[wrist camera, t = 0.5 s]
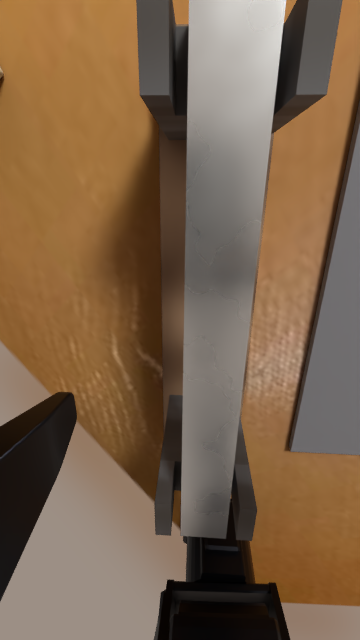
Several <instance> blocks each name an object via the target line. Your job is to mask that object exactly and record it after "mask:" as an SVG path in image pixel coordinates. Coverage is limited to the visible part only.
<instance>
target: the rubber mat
mask: <svg viewBox="0 0 360 640" xmlns="http://www.w3.org/2000/svg"><path fill="white" fill-rule="evenodd" d="M289 448H290V451H291V452H311V453H330V454H350V455H360V101H359V105H358V110H357V115H356V120H355V125H354V130H353V135H352V140H351V145H350V149H349V154H348V159H347V164H346V169H345V174H344V179H343V184H342V188H341V193H340V198H339V203H338V208H337V213H336V218H335V223H334V228H333V232H332V237H331V242H330V247H329V252H328V257H327V262H326V267H325V272H324V276H323V281H322V286H321V291H320V296H319V301H318V306H317V311H316V316H315V320H314V325H313V330H312V335H311V340H310V345H309V350H308V355H307V360H306V364H305V369H304V374H303V379H302V384H301V389H300V394H299V399H298V403H297V408H296V413H295V418H294V423H293V428H292V433H291V438H290V443H289Z"/></svg>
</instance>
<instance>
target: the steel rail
mask: <svg viewBox="0 0 360 640" xmlns="http://www.w3.org/2000/svg"><path fill="white" fill-rule="evenodd" d="M285 6H286V0H189V43H188V105H187V167H186V229H185V290H184V352H183V414H182V476H181V536H192V537H207V538H222V539H226V533H227V524H228V515H229V506H230V497H231V488H232V479H233V470H234V461H235V452H236V443H237V435H238V426H239V417H240V408H241V399H242V390H243V381H244V372H245V363H246V354H247V345H248V336H249V327H250V318H251V309H252V300H253V292H254V283H255V274H256V265H257V256H258V247H259V238H260V229H261V220H262V211H263V202H264V193H265V184H266V175H267V166H268V158H269V149H270V140H271V131H272V122H273V113H274V104H275V95H276V86H277V77H278V68H279V59H280V50H281V41H282V32H283V23H284V15H285Z"/></svg>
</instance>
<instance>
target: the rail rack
mask: <svg viewBox="0 0 360 640" xmlns="http://www.w3.org/2000/svg"><path fill="white" fill-rule="evenodd" d="M136 2H137V29H138V57H139V85H140V96H141V98H142V99H143V101H144V102H145V104H146V106H147V107H148V109H149V110H150V112H151V113H152V115H153V117H154V118H155V120H156V121H157V123H158V124H159V162H160V226H161V290H162V354H163V418H164V439H163V447H162V454H161V461H160V468H159V475H158V482H157V490H156V497H155V528H156V529H155V531H156V535H171V527H172V515H173V502H174V490H180V491H181V476H182V414H183V352H184V290H185V229H186V167H187V105H188V43H189V24H179V25H176V23H175V16H174V9H173V2H172V0H136ZM341 6H342V0H297V1H296V3H295V5H294V7H293V9H292V11H291V13H290V15H289V17H288V18H287V20H286V22H285V23H283V32H282V41H281V50H280V59H279V68H278V77H277V86H276V95H275V104H274V113H273V122H272V131H271V140H270V149H269V158H268V166H267V175H266V184H265V193H264V202H263V211H262V220H261V229H260V238H259V247H258V256H257V265H256V274H255V283H254V292H253V300H252V309H251V318H250V327H249V336H248V345H247V354H246V363H245V372H244V381H243V390H242V399H241V408H240V417H239V426H238V435H237V443H236V452H235V461H234V470H233V479H232V488H231V495H232V504H233V514H234V523H235V533H236V540H246V541H252V537H253V531H254V525H255V519H256V513H257V507H256V501H255V496H254V490H253V485H252V479H251V474H250V468H249V463H248V457H247V452H246V446H245V441H244V435H243V430H242V424H241V415H242V407H243V398H244V389H245V380H246V372H247V363H248V354H249V346H250V337H251V328H252V320H253V311H254V302H255V293H256V285H257V276H258V267H259V259H260V250H261V241H262V233H263V224H264V215H265V207H266V198H267V189H268V180H269V172H270V163H271V154H272V146H273V137H274V132H276V131H277V130H278V129H280V128H281V127H282V126H284V125H285V124H287V123H288V122H289V121H291V120H292V119H293V118H295V117H296V116H298V115H299V114H300V113H302V112H303V111H305V110H306V109H307V108H309V107H310V106H311V105H313V104H314V103H316V102H317V101H318V100H320V99H321V98H322V97H324V96H325V95H327V89H328V83H329V77H330V71H331V66H332V60H333V54H334V48H335V42H336V36H337V30H338V24H339V18H340V12H341Z"/></svg>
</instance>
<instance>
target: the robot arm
mask: <svg viewBox="0 0 360 640" xmlns="http://www.w3.org/2000/svg"><path fill="white" fill-rule="evenodd" d="M76 420H77V413H76V406H75V400H74V395H73V394H72V393H71V392H58V393H56V394H54V395H52V396H51V397H49V398H47V399H46V400H44V401H42V402H41V403H39V404H37V405H36V406H34V407H32V408H31V409H29V410H27V411H26V412H24V413H22V414H21V415H19V416H18V417H15V418H14V419H12V420H10V421H9V422H7V423H5V424H4V425H2V426H0V601H1V599H2V596H3V594H4V592H5V590H6V588H7V586H8V583H9V581H10V579H11V577H12V574H13V572H14V570H15V568H16V566H17V563H18V561H19V559H20V557H21V555H22V552H23V551H24V548H25V546H26V544H27V542H28V540H29V537H30V535H31V533H32V531H33V529H34V526H35V524H36V522H37V520H38V518H39V515H40V513H41V511H42V509H43V507H44V505H45V502H46V500H47V498H48V496H49V494H50V491H51V489H52V487H53V485H54V482H55V480H56V478H57V476H58V473H59V471H60V468H61V466H62V463H63V460H64V457H65V454H66V451H67V448H68V445H69V442H70V439H71V436H72V433H73V430H74V427H75V424H76ZM183 541H184V542H185V543H186V544H187V563H186V582H182V581H174V580H167V586H166V590H164V591H163V592H161V598H160V608H159V616H158V623H157V627H156V632H155V637H154V640H290V637H289V633H288V629H287V625H286V621H285V617H284V613H283V609H282V606H281V602H280V598H279V594H278V590H277V586H276V583H268V584H255V577H254V570H253V563H252V556H251V549H250V542H249V541H246V540H236V533H235V523H234V514H233V504H232V499H230V506H229V515H228V524H227V533H226V539H222V538H207V537H192V536H183Z"/></svg>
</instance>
